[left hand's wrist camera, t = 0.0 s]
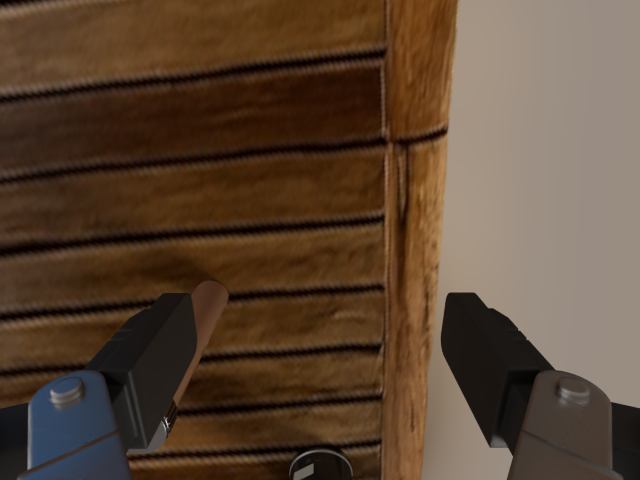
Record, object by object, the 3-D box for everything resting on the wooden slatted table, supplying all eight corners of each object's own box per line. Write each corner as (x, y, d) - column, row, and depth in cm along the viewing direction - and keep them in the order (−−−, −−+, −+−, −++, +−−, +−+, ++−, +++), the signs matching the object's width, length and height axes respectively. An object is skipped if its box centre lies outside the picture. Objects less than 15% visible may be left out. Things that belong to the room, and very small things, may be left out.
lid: (188, 422, 28) (178, 446, 26) (133, 436, 29) (119, 461, 27) (160, 375, 27) (148, 397, 25) (103, 391, 27) (86, 413, 25)
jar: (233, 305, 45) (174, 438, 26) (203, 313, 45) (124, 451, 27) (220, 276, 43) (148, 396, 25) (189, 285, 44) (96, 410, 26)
